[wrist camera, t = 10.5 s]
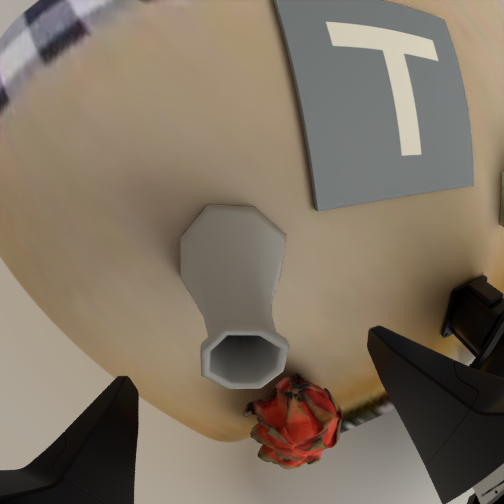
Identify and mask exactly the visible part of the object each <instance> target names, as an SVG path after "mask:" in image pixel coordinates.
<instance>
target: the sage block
mask: <svg viewBox="0 0 504 504" xmlns="http://www.w3.org/2000/svg"><path fill="white" fill-rule="evenodd" d="M499 225H501V226H503V227H504V172H502V192H501V209H500V221H499Z"/></svg>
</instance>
